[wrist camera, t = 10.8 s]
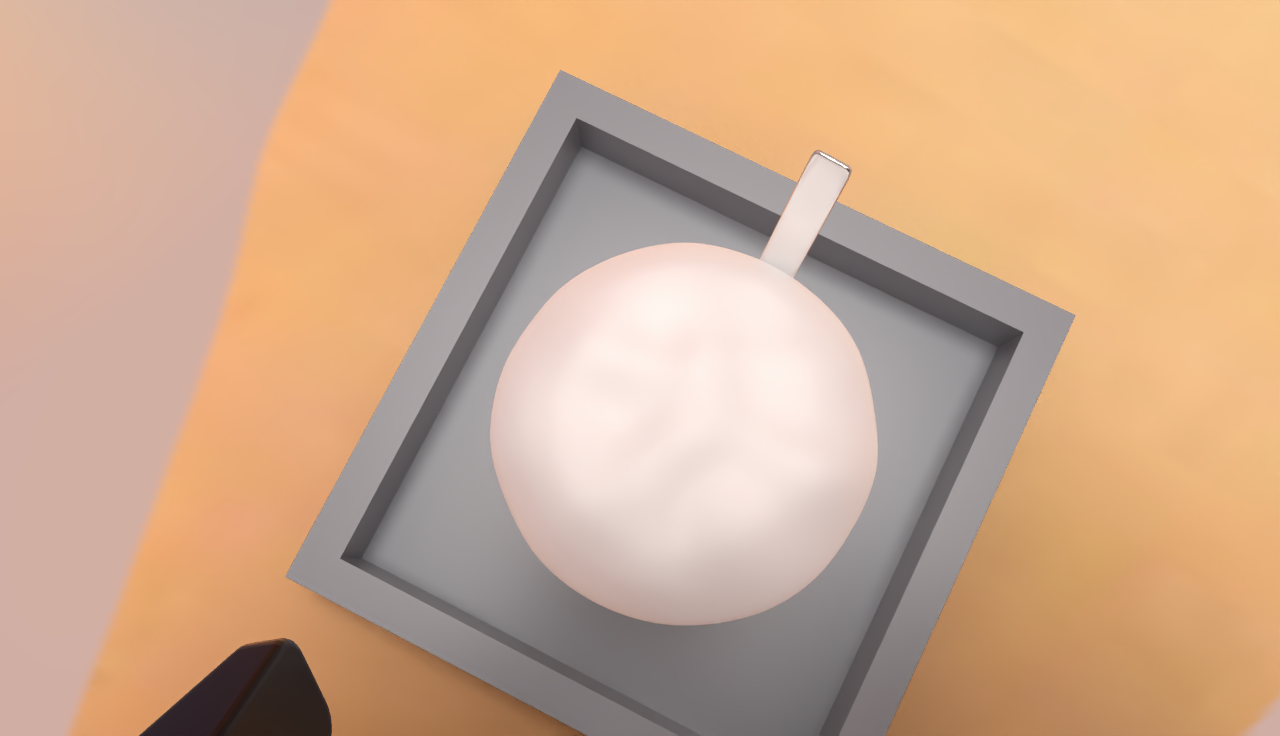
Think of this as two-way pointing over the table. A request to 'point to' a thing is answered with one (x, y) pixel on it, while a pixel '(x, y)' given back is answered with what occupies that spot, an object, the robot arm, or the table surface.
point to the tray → (606, 640)
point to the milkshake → (690, 425)
